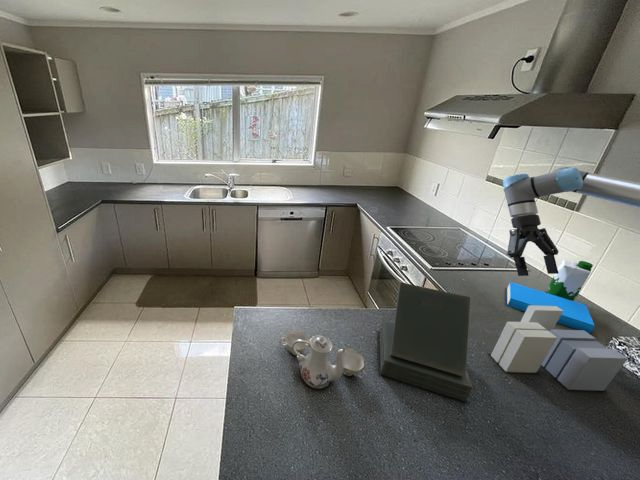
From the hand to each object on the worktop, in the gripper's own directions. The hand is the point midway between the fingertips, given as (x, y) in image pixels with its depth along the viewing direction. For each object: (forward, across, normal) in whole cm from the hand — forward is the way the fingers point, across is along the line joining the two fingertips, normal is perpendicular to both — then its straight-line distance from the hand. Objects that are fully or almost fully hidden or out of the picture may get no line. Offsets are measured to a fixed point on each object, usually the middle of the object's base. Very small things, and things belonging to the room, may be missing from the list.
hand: (538, 274), depth 98 cm
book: (+16, -29, -20) cm, 39 cm away
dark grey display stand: (+26, +47, -9) cm, 55 cm away
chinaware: (+25, +81, -12) cm, 86 cm away
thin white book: (+24, -2, -10) cm, 26 cm away
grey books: (+32, +1, +2) cm, 32 cm away
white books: (+29, +15, -4) cm, 32 cm away
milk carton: (+13, -44, -24) cm, 51 cm away
